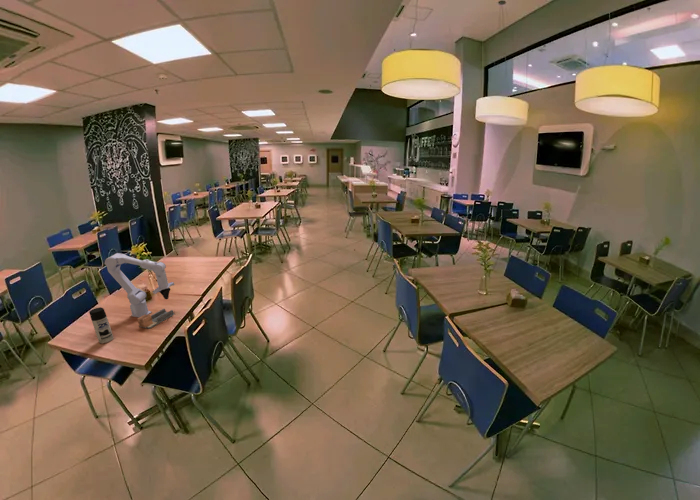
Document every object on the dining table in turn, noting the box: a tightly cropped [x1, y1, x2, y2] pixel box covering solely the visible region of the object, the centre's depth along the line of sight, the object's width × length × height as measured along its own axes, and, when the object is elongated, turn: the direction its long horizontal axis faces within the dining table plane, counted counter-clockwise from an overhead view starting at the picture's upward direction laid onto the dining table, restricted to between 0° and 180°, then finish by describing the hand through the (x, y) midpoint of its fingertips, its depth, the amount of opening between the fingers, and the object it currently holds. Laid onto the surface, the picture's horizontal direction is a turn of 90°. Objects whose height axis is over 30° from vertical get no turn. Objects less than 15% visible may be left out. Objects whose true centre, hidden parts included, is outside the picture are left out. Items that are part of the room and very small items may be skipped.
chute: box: [138, 308, 175, 330], centre depth 187 cm, size 9×18×3 cm, turn 162°
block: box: [136, 314, 153, 328], centre depth 180 cm, size 5×5×6 cm
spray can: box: [88, 306, 114, 344], centre depth 165 cm, size 7×7×20 cm
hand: (166, 298), depth 195 cm, fingers closed
